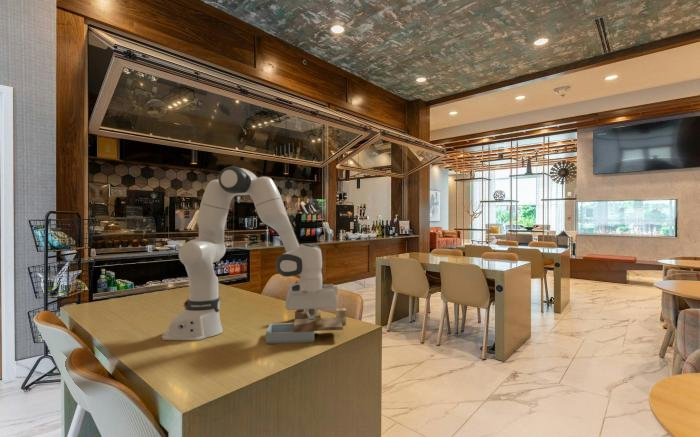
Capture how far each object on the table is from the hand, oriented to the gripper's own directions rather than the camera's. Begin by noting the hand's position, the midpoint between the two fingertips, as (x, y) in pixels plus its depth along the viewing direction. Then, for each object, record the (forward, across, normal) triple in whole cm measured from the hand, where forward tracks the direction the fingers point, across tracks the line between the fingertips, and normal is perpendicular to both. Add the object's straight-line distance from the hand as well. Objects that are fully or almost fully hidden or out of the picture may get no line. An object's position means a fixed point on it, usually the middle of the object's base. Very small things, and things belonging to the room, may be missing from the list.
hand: (311, 319), depth 135 cm
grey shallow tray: (+7, +8, 0) cm, 10 cm away
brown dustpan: (+7, +3, -23) cm, 24 cm away
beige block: (+7, -13, -15) cm, 21 cm away
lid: (+2, -3, 0) cm, 3 cm away
